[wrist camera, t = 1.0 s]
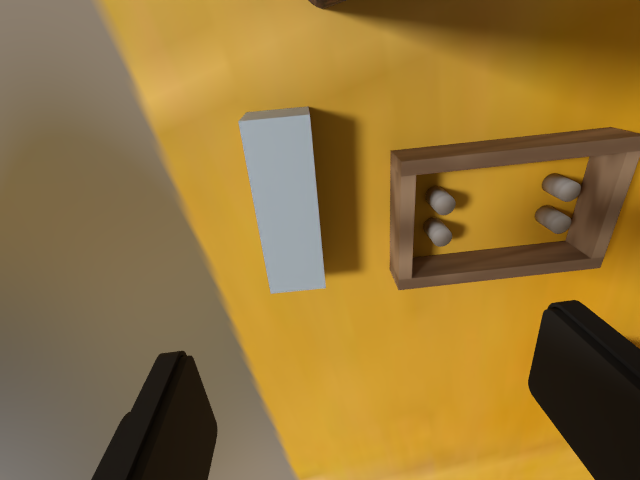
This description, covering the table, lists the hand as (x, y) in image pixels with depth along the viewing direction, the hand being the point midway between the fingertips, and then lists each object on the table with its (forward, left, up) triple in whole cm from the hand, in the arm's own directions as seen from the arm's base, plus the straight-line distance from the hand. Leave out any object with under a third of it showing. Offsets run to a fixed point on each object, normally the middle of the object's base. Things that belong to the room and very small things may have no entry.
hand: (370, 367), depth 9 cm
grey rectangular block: (+4, -3, -23) cm, 24 cm away
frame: (+7, +16, -23) cm, 29 cm away
